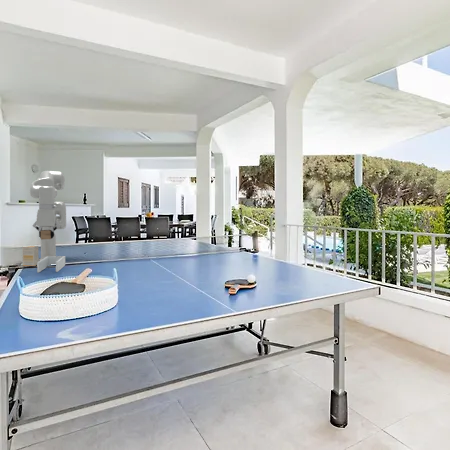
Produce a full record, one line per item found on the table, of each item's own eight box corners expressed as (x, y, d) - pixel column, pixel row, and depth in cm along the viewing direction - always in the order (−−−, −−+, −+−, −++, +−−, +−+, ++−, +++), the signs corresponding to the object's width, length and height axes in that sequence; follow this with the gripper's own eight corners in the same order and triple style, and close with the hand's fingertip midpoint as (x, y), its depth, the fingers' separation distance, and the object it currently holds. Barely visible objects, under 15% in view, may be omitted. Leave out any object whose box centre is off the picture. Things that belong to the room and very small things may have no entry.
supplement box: (39, 265, 225) (38, 245, 224) (34, 267, 220) (34, 246, 219) (27, 265, 226) (27, 245, 225) (22, 266, 221) (21, 246, 220)
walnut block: (42, 238, 204) (42, 229, 204) (52, 238, 205) (52, 229, 205) (40, 239, 199) (40, 230, 199) (50, 239, 201) (50, 230, 200)
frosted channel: (47, 265, 226) (47, 256, 226) (65, 265, 229) (65, 256, 229) (37, 272, 203) (37, 262, 203) (57, 271, 206) (57, 262, 206)
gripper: (63, 207, 207) (63, 237, 209) (32, 206, 203) (32, 237, 204) (60, 207, 200) (61, 238, 201) (28, 207, 196) (28, 238, 197)
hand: (46, 237), depth 203 cm, fingers closed on walnut block, 5 cm apart
